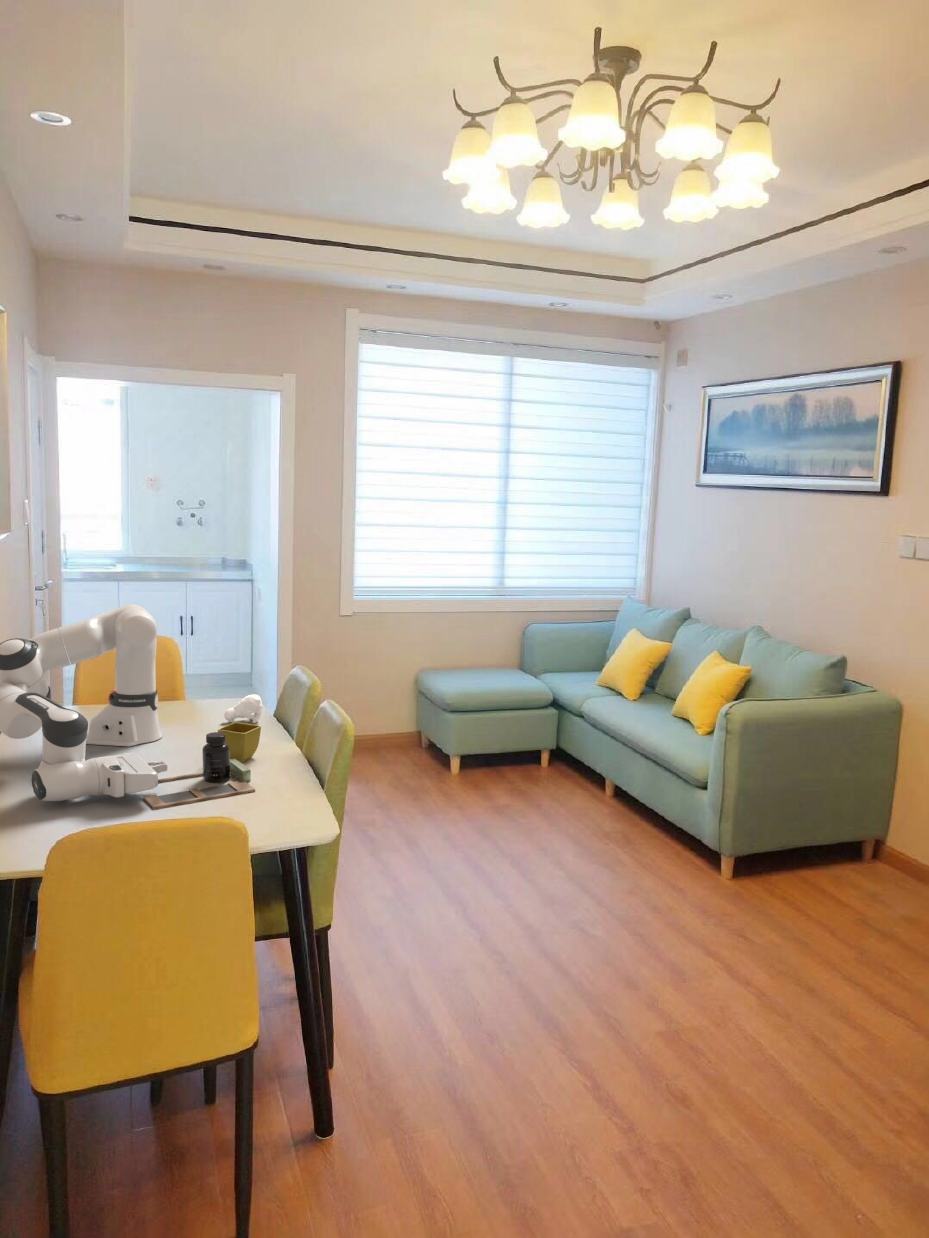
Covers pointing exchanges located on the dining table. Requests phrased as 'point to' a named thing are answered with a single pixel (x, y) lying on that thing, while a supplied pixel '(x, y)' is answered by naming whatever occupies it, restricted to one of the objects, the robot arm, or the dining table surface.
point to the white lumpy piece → (245, 709)
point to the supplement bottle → (216, 758)
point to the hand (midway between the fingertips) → (165, 765)
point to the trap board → (204, 789)
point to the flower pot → (241, 739)
